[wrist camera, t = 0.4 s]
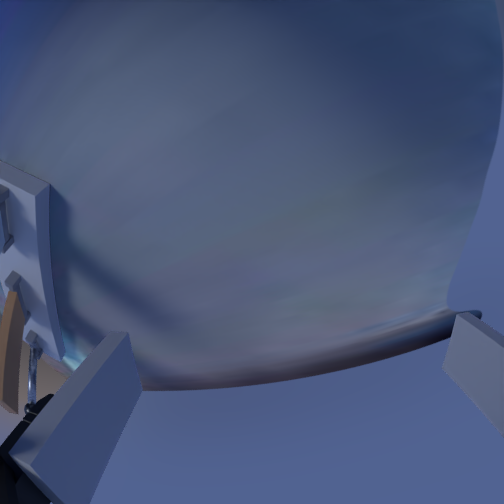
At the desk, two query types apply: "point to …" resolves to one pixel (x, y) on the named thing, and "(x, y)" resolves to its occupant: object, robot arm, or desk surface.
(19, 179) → the switch panel
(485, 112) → the desk surface
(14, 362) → the brown paddle
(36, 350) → the grey metal toggle
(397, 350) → the desk surface
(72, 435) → the robot arm
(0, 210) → the pale blue paddle
